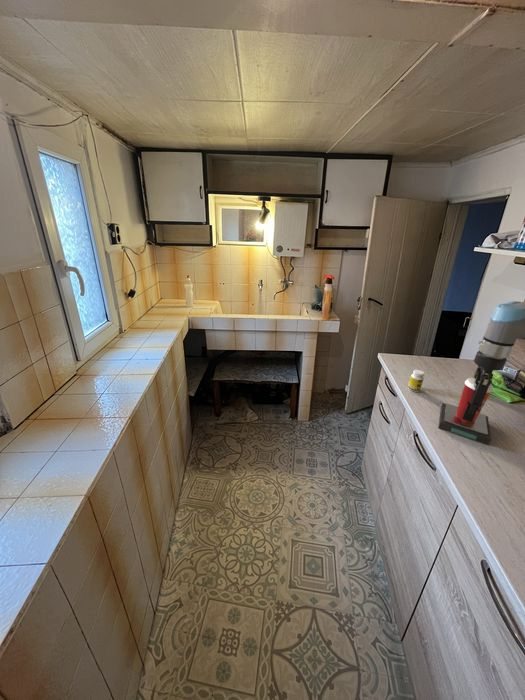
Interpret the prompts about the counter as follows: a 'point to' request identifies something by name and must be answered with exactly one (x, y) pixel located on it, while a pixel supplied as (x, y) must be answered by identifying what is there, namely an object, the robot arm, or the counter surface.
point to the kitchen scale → (464, 425)
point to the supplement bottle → (416, 381)
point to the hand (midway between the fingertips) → (466, 414)
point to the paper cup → (467, 396)
